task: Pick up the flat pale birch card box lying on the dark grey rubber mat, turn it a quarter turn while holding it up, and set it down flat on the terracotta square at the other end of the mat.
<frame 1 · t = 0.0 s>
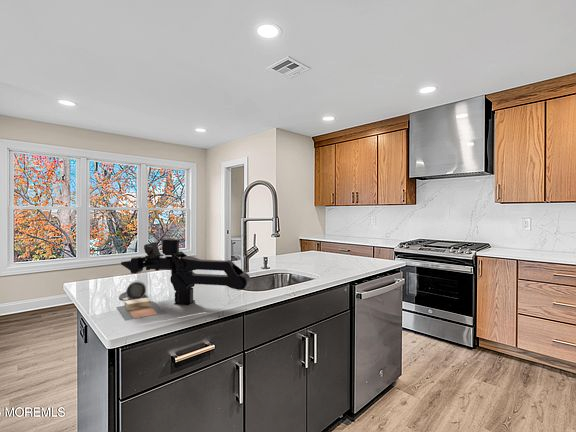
hand: (128, 261, 133), 17 cm above the worktop, tool horizontal, fingers open, 9 cm apart
mat: (140, 310, 120), on the worktop
card box: (137, 306, 124), resting on mat
ceramic mug: (133, 298, 137), on the worktop
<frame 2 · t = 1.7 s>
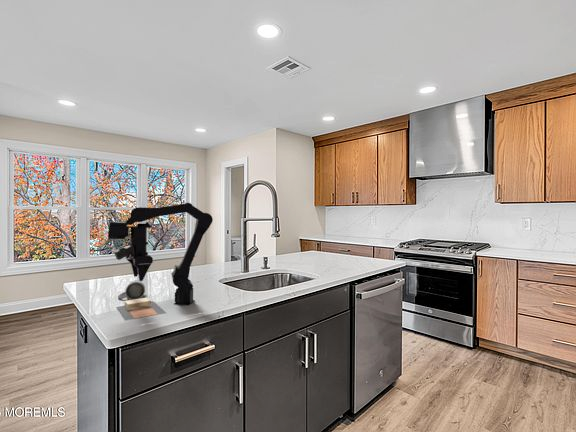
hand: (138, 278, 123), 12 cm above the worktop, tool pointing down, fingers open, 9 cm apart
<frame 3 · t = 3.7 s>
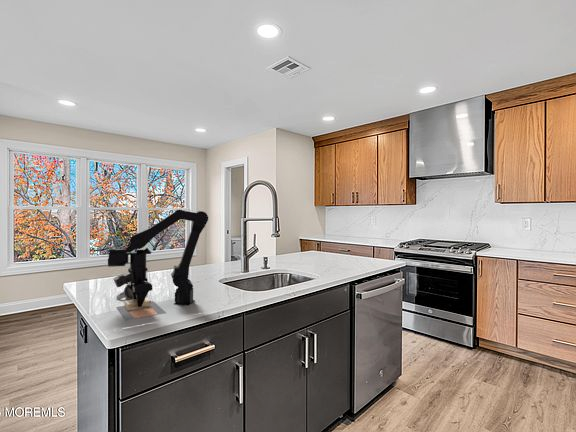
hand: (137, 304, 124), 1 cm above the worktop, tool pointing down, fingers closed on card box, 5 cm apart
card box: (137, 306, 124), resting on mat, touching gripper
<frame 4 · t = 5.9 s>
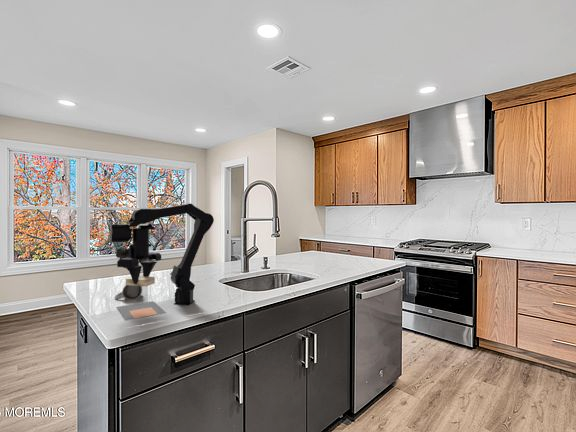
hand: (140, 281, 120), 11 cm above the worktop, tool pointing down, fingers closed on card box, 5 cm apart
card box: (140, 284, 120), point 10 cm above the worktop, touching gripper
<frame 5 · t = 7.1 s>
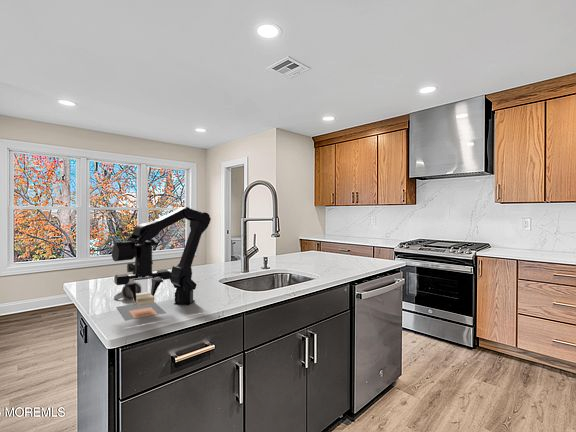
hand: (143, 299, 117), 5 cm above the worktop, tool pointing down, fingers closed on card box, 5 cm apart
card box: (143, 301, 117), point 4 cm above the worktop, touching gripper
when the fingers open (2 cm above the worktop, at t = 8.1 s): card box drops 1 cm, resting on mat.
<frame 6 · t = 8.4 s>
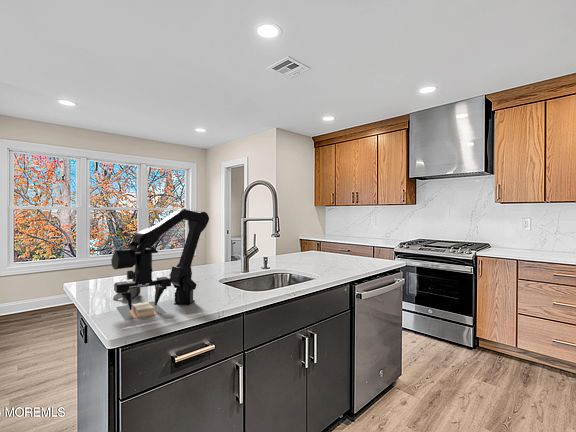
hand: (143, 307, 117), 2 cm above the worktop, tool pointing down, fingers open, 8 cm apart
card box: (143, 312, 117), resting on mat
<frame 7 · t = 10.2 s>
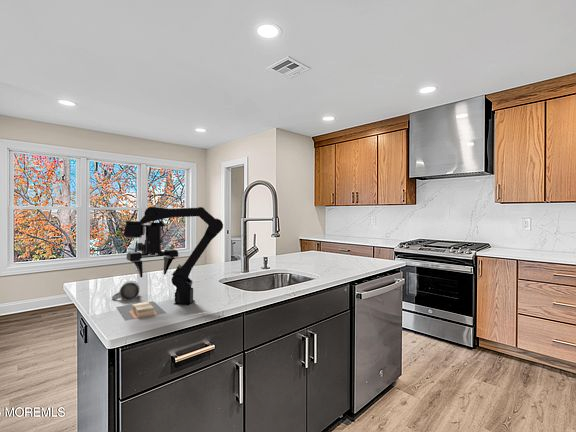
hand: (153, 275, 127), 12 cm above the worktop, tool pointing down, fingers open, 9 cm apart
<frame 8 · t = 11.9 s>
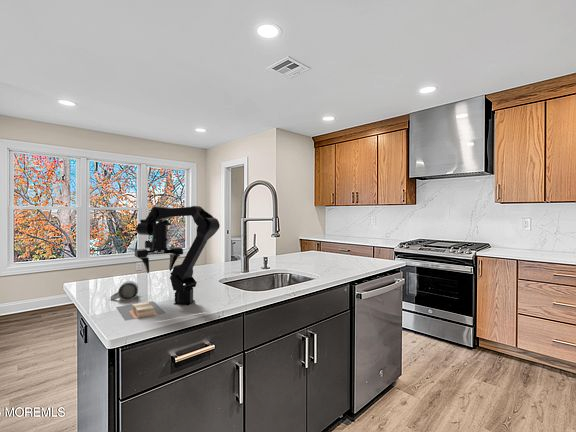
hand: (159, 271, 135), 12 cm above the worktop, tool pointing down, fingers open, 9 cm apart
at the end: card box 0.1 cm from the target spot on the mat, point 0.5 cm above the mat's base; card box tilted 0°; the gripper is holding nothing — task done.
